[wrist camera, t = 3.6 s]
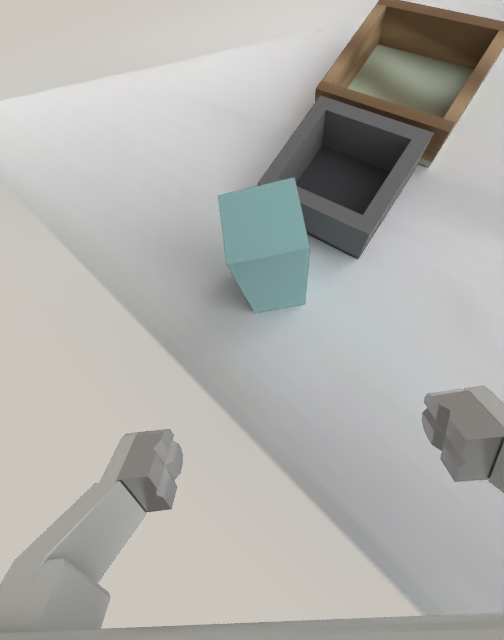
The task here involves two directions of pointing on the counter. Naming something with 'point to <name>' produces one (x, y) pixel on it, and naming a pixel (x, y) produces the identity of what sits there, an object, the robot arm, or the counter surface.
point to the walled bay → (415, 66)
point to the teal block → (266, 244)
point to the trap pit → (347, 170)
